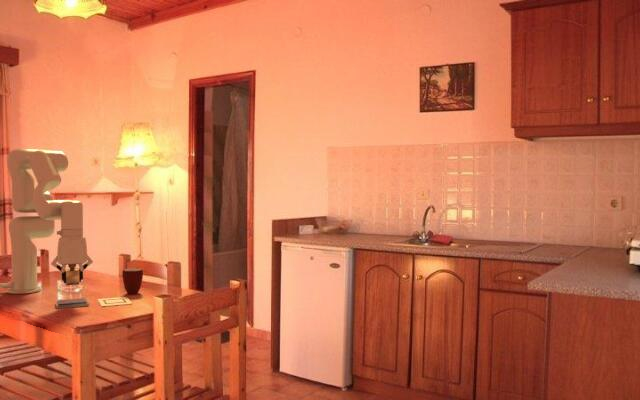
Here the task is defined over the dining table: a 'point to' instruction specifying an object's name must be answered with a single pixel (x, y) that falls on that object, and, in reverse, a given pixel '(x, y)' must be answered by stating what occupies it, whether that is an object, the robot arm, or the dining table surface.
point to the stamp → (72, 275)
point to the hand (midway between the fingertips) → (72, 281)
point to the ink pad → (71, 303)
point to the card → (114, 301)
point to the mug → (132, 280)
